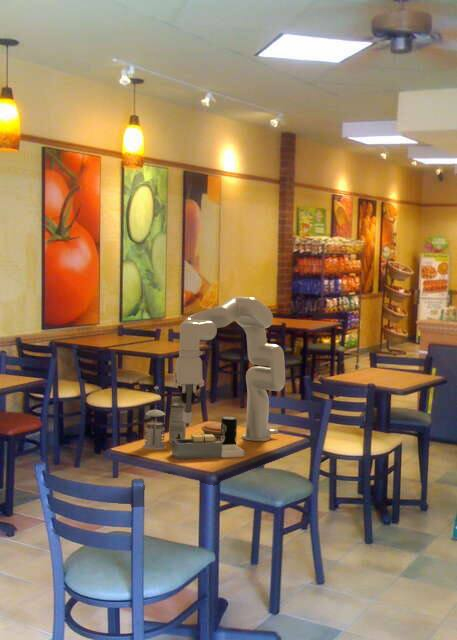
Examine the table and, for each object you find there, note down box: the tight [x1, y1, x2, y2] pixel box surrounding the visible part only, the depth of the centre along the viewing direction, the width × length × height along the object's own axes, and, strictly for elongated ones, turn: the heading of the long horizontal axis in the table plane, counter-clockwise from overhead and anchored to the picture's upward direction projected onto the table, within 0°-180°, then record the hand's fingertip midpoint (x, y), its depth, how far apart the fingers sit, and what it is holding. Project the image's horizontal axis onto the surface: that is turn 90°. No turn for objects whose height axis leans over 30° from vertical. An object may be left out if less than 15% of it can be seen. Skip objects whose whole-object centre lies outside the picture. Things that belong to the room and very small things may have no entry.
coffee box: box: [168, 401, 187, 445], centre depth 325 cm, size 9×6×16 cm
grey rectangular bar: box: [183, 385, 193, 424], centre depth 291 cm, size 2×4×16 cm, turn 19°
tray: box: [221, 444, 245, 459], centre depth 307 cm, size 9×11×2 cm
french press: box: [142, 385, 167, 451], centre depth 313 cm, size 10×12×25 cm
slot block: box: [171, 438, 222, 460], centre depth 302 cm, size 18×8×6 cm, turn 109°
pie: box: [200, 422, 221, 440], centre depth 340 cm, size 15×16×5 cm
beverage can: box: [220, 415, 238, 445], centre depth 321 cm, size 7×7×12 cm
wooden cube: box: [201, 433, 215, 442], centre depth 304 cm, size 4×4×4 cm
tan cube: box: [190, 434, 204, 443], centre depth 302 cm, size 4×4×4 cm
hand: (187, 402), depth 291 cm, fingers closed on grey rectangular bar, 2 cm apart
